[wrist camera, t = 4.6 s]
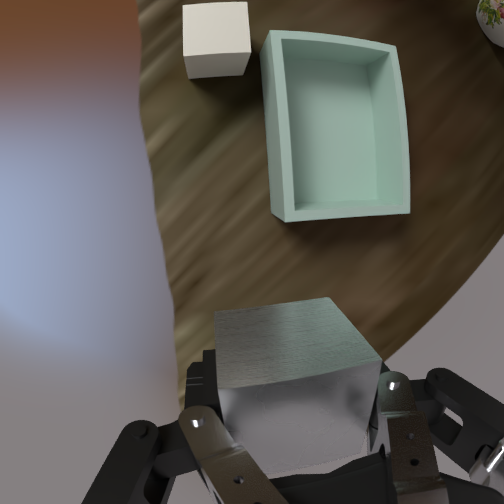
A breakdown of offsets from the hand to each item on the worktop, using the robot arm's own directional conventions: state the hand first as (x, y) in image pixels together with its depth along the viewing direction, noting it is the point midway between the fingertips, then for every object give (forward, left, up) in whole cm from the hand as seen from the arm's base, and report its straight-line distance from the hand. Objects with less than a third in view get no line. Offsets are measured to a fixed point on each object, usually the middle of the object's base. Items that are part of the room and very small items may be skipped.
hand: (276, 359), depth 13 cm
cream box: (-20, -1, -17) cm, 26 cm away
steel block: (0, 0, -1) cm, 1 cm away
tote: (-12, +9, -17) cm, 22 cm away
